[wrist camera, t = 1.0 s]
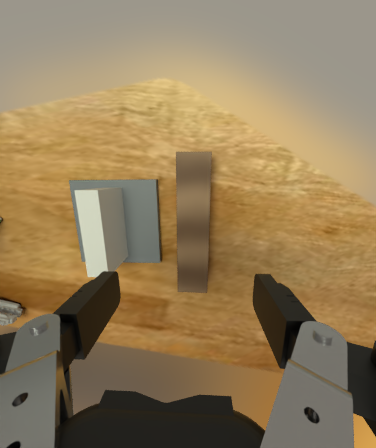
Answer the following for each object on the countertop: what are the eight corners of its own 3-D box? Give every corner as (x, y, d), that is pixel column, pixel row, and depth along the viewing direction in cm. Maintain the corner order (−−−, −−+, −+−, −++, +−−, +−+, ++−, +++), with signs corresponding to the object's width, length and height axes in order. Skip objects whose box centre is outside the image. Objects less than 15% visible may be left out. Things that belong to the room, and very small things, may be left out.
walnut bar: (179, 156, 24) (176, 152, 21) (209, 156, 24) (211, 151, 20) (180, 276, 29) (177, 291, 25) (206, 277, 29) (207, 292, 25)
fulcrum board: (157, 179, 25) (142, 179, 18) (161, 260, 28) (149, 285, 21) (73, 180, 26) (29, 180, 19) (86, 258, 29) (51, 283, 22)
